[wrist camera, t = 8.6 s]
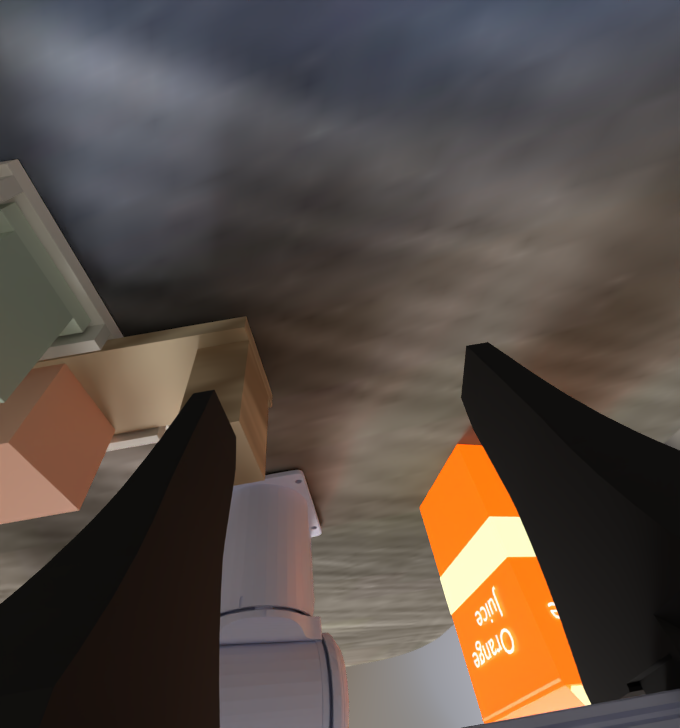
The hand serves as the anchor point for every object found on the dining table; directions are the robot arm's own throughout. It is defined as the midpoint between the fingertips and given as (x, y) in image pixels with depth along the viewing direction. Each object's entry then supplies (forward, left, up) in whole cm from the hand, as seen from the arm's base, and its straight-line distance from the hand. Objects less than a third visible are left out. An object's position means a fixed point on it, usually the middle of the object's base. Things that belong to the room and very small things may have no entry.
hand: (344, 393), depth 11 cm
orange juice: (-22, -10, -10) cm, 26 cm away
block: (-5, +16, -8) cm, 18 cm away
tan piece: (-5, +11, -9) cm, 15 cm away
